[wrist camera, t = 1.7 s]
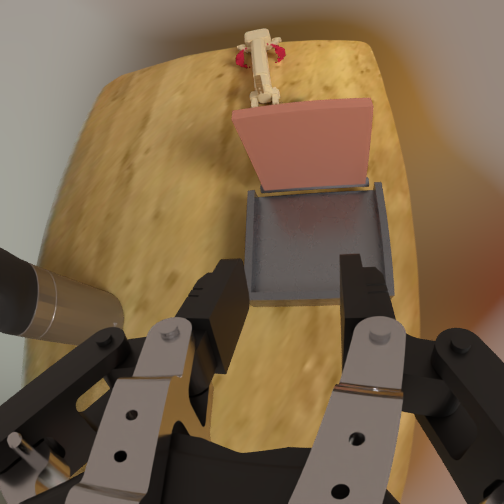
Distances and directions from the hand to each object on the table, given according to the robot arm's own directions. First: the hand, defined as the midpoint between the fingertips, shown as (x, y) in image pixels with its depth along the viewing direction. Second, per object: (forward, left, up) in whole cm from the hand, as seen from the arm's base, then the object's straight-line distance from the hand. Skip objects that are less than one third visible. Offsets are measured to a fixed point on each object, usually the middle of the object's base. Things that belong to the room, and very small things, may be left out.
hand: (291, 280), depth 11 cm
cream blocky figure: (-31, +37, -29) cm, 56 cm away
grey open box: (-5, +9, -28) cm, 30 cm away
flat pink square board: (-9, +16, -24) cm, 30 cm away
